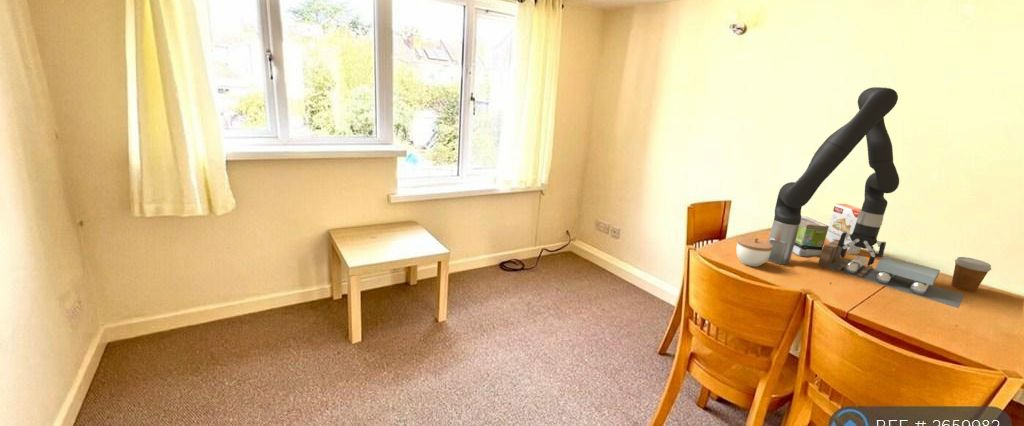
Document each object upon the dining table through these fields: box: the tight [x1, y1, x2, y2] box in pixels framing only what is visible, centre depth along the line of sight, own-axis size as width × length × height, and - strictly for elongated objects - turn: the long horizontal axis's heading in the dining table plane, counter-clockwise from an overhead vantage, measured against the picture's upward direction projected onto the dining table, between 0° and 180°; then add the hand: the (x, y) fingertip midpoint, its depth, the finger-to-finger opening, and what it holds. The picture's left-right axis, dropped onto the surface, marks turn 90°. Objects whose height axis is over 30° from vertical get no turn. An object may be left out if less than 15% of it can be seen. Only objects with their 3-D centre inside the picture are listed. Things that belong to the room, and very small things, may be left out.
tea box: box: [792, 215, 829, 258], centre depth 190 cm, size 15×10×15 cm
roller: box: [844, 255, 868, 275], centre depth 171 cm, size 16×4×4 cm, turn 129°
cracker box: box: [823, 203, 862, 256], centre depth 193 cm, size 14×6×21 cm, turn 5°
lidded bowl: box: [735, 236, 773, 268], centre depth 172 cm, size 13×13×11 cm
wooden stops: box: [817, 239, 873, 279], centre depth 172 cm, size 18×14×9 cm
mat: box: [827, 258, 965, 309], centre depth 163 cm, size 18×38×1 cm, turn 39°
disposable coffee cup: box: [950, 256, 992, 293], centre depth 158 cm, size 10×10×12 cm
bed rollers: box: [875, 271, 929, 296], centre depth 160 cm, size 16×14×4 cm
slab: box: [875, 255, 941, 286], centre depth 159 cm, size 12×16×3 cm
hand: (855, 261), depth 170 cm, fingers open, 8 cm apart
